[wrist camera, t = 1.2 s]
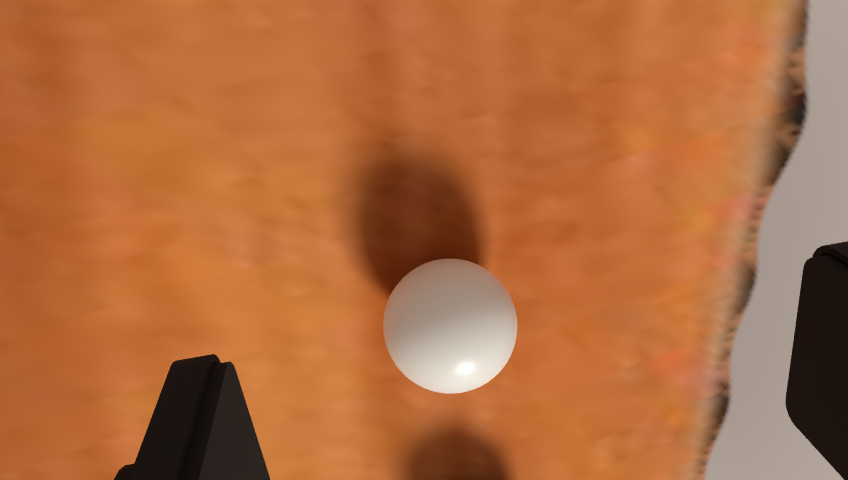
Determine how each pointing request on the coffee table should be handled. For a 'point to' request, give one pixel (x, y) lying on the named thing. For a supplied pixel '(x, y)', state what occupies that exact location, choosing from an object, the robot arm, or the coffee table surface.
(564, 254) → the coffee table surface
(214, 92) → the coffee table surface
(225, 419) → the robot arm
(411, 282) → the cue ball
